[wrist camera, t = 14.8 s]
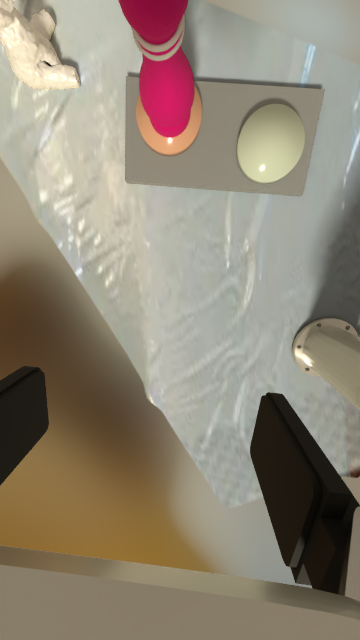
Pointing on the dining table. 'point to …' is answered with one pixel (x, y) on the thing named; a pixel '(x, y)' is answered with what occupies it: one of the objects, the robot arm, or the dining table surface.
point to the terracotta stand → (176, 143)
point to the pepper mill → (162, 62)
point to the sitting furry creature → (34, 50)
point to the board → (220, 139)
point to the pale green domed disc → (270, 143)
